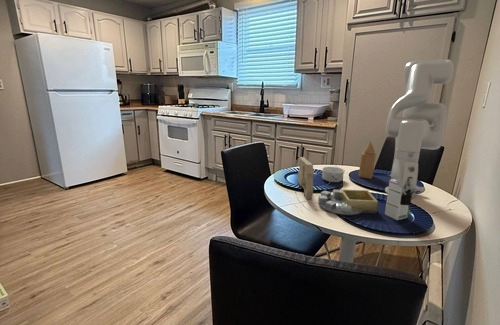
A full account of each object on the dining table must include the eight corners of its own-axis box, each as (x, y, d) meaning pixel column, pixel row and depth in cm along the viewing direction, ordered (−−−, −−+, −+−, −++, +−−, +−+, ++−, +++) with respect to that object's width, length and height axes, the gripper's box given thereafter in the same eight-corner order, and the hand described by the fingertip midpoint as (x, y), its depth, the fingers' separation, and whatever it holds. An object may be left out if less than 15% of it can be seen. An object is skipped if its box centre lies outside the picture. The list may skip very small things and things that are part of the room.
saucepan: (322, 188, 129) (323, 177, 128) (320, 175, 148) (321, 165, 146) (347, 190, 127) (348, 179, 125) (342, 177, 146) (343, 167, 144)
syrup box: (397, 220, 98) (404, 184, 94) (383, 214, 103) (389, 178, 99) (407, 218, 100) (414, 182, 96) (394, 211, 106) (400, 177, 102)
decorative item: (372, 175, 148) (378, 140, 142) (371, 179, 142) (376, 142, 137) (360, 173, 151) (364, 139, 146) (358, 177, 146) (362, 141, 140)
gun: (313, 200, 115) (315, 166, 112) (305, 200, 115) (307, 166, 112) (303, 185, 139) (304, 156, 136) (297, 185, 139) (298, 156, 136)
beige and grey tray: (364, 198, 118) (365, 187, 116) (379, 217, 101) (381, 205, 99) (315, 196, 119) (316, 185, 118) (322, 214, 102) (323, 202, 101)
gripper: (431, 161, 87) (421, 210, 91) (405, 150, 103) (398, 191, 108) (407, 160, 87) (398, 208, 91) (385, 149, 104) (379, 190, 108)
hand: (398, 199), depth 100 cm, fingers open, 9 cm apart
